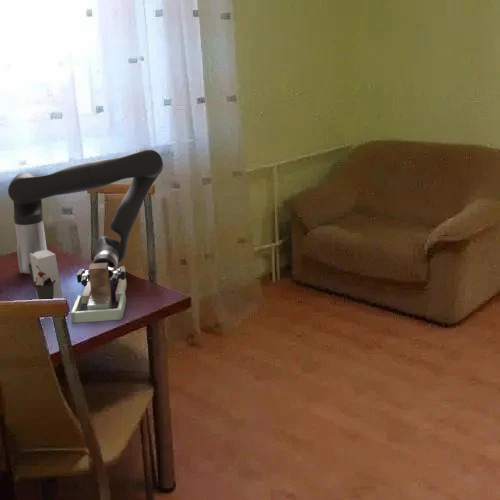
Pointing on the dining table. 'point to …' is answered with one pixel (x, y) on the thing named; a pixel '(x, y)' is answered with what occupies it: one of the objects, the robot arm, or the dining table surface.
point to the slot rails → (120, 289)
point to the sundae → (44, 286)
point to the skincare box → (46, 268)
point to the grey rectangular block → (99, 304)
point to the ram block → (99, 279)
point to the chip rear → (101, 297)
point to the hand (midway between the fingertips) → (99, 282)
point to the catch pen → (97, 312)
